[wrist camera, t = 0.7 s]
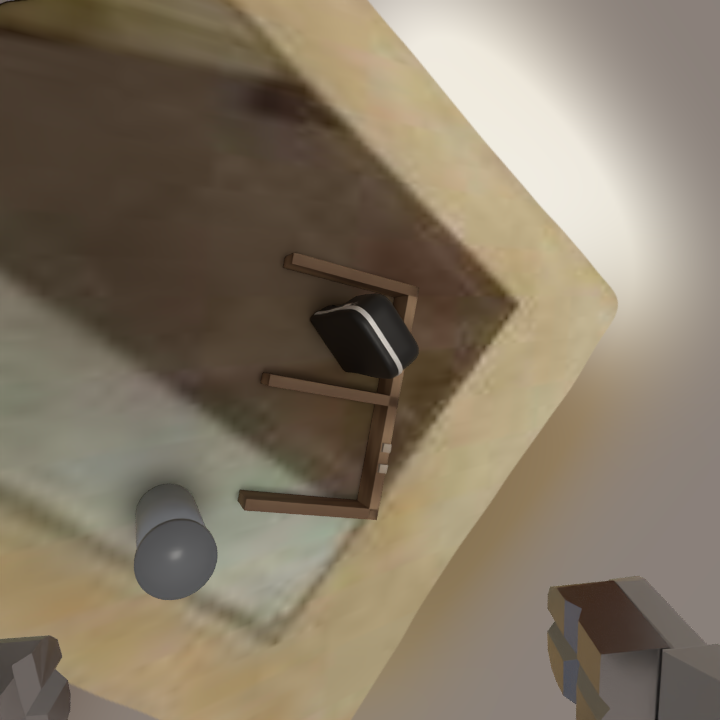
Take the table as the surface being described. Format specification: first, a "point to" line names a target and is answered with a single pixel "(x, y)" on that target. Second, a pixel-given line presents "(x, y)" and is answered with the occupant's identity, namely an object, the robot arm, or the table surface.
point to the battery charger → (367, 336)
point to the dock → (382, 399)
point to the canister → (172, 544)
